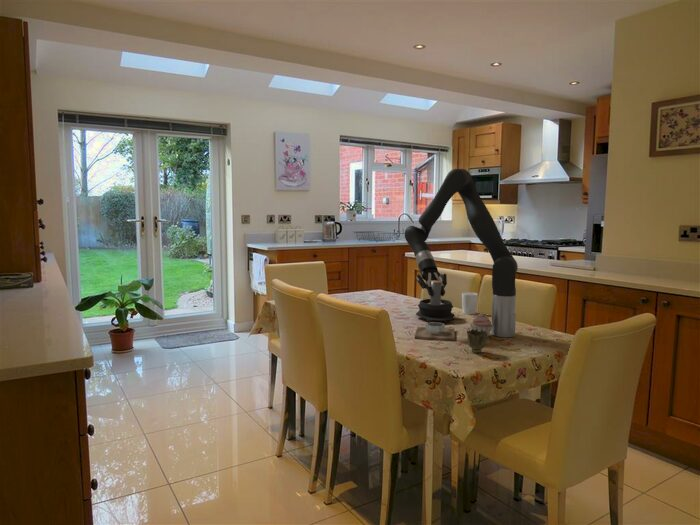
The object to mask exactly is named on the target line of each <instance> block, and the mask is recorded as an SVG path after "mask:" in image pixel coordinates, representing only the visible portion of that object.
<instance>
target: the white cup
mask: <svg viewBox="0 0 700 525" xmlns="http://www.w3.org/2000/svg"><path fill="white" fill-rule="evenodd" d="M478 295H479V294H478V292H477V293H476V292H468V291H466V292H461V306H462V310H461V311H462V314H463V315H464V314H465V315H476V314H477V308H478V299H479V298H478Z"/></svg>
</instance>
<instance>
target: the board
mask: <svg viewBox="0 0 700 525" xmlns="http://www.w3.org/2000/svg"><path fill="white" fill-rule="evenodd" d="M414 339H416V340H431V341H432V340H433V341H446V342H447V341H449V342H455V340H456V339H455V328H446V327H444V334H441V335H431V334H428V333H426V326H425V327H424V326H417V327H416V330H415V334H414Z"/></svg>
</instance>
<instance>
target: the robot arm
mask: <svg viewBox="0 0 700 525" xmlns="http://www.w3.org/2000/svg"><path fill="white" fill-rule="evenodd" d="M456 193H458V194H459V196H460V197H461V200H462V201H463V203H464V208H465V213H466V216H467V219H468V222H469V225H470V227H471V228H472V231H473V232H474V234H475V235H476V237H477V239H478V240H479V241H480V242H481V243H482V245H483V246H484V247H485V248H486V249H487V251H488V252H489V255H490V257H491V259H492V261H493V263H492V264H493V265H492V270H491V274H492V275H491V289H492V301H491V302H492V303H491V304H492V306H491V307H492V308H491V325H492V326H493V327H492V329H491V331H490V334H491V335H492V336H495V337H499V338H512V337H513V338H515V337H516V320H517V319H516V317H517V315H516V297H517V296H516V294H517V290H516V273H517V272H518V267H519V266H518V262H517V260H516V259H515V257H513V255H512V253H511V251H510V250H509V249H508V246H507V245H506V244H505V242H504V240H503V237H502V235H501V232H500V231H499V229H498V226H497V224H496V222H495V220H494V219H493V217H492V215H491V213H490V211H489V210H488V208H487V206H486V204H485V202H484V201H483V199H482V198H481V195H480V194H479V192H478V190H477V187H476V185H475V182H474V179H473V177H472V174H471V173H470V172H469V171H468V170H467V169H464V168H453V169H451V170H450V171H449V172H448V173H447V174H446V176H445V178H444V180H443V182H442V184H441V186H440V188H439V189H438V191H437V193H436V194H435V195H434V197H433V198H432V200H431V201H430V203H429V204H428V206H427V207H426V208H425V209H424V211H423V212H422V213H421V215H420V217H419V218H418V223H419V224H420V225H421V227H419V226H418V227H417V226H415V225H408V226H407V227H406V229H405V230H404V239H405V240H406V242H407V244H408V246H409V247H410V249H411V250H412V252H413V253H414V254H413V255H414V257H415V261H416V264H417V267H418V271H419V273H420V274H417V275H416V277H415V280H416V282H417V283H418V284H419V286H420V287H421V289H422V290H426V291H427V293H428V296H431V297H433V295H434V293H433V290H432V287H431V280H440V281H441V297H445V294H446V290H445V288H446V286H447V285H448V280H447V273H442V274H441V273H440V272H439V270H438V266H437V264H436V260H435V259H434V256H433V254H432V252H431V249H430V248H429V245H428V243H427V242H426V241H427V240H428V238H429V235H430V234H431V231H432V228H433V227H434V225H435V223H437V222H438V220H439V218H440V217H441V215H442V214H443V212H444V209H445V207H446V206H447V204H448V203H449V201H450V200H451V198H452V197H453V196H454V195H455V194H456Z"/></svg>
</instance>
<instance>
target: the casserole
mask: <svg viewBox="0 0 700 525" xmlns="http://www.w3.org/2000/svg"><path fill="white" fill-rule="evenodd" d="M417 307H418V308H419V309H418V311H417V312H416V313H415V314H416V316H417V317H419V318H422V319H423V320H427V321H431V322H448V321H452V320H454V317H455V316H456V314H455V313H453V312H452V310H453V308H454V306H453V303H452V301H450V300H449V299H448V300H447V299H444V298H443V299H442V298H441V305H438V306H435V305H430V298H425V299H421V300H420V301H419V302H418V304H417Z"/></svg>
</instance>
